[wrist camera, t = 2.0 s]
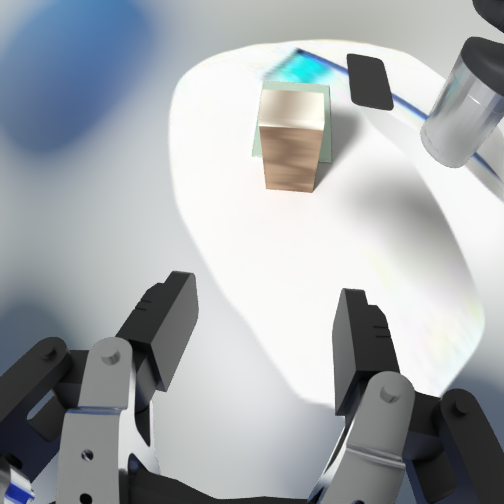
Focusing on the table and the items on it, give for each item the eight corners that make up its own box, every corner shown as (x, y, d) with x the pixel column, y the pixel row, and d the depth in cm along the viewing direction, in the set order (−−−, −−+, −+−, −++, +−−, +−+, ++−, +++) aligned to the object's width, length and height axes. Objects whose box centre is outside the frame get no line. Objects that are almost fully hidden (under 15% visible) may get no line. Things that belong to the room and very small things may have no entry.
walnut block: (313, 167, 39) (323, 93, 25) (312, 192, 38) (324, 122, 24) (269, 163, 39) (262, 89, 26) (266, 189, 38) (257, 117, 25)
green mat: (328, 86, 43) (328, 85, 43) (331, 162, 39) (331, 161, 38) (263, 82, 44) (263, 81, 44) (251, 156, 40) (251, 155, 40)
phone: (382, 59, 44) (394, 109, 40) (381, 62, 45) (393, 113, 41) (346, 52, 45) (351, 101, 41) (345, 55, 46) (351, 105, 42)
